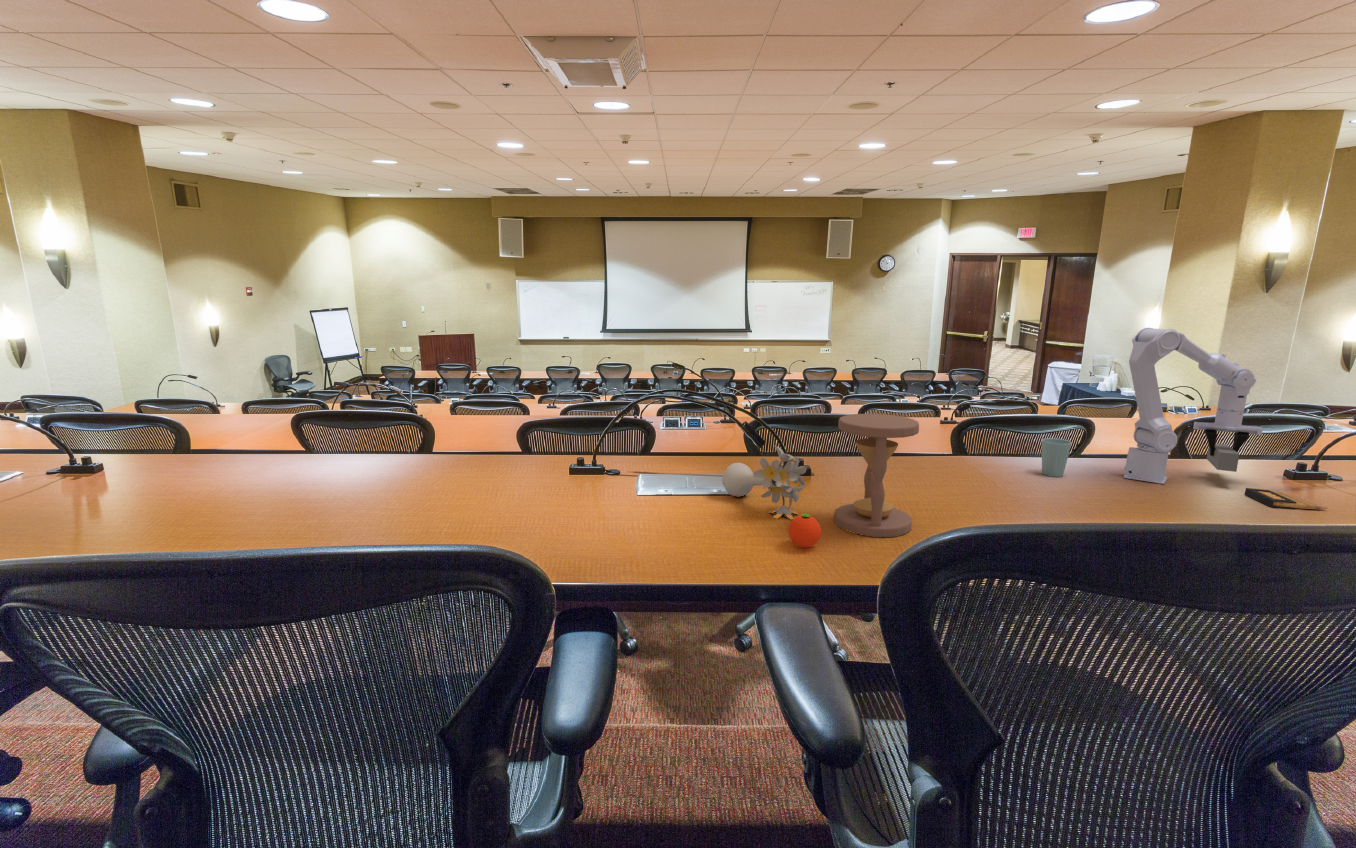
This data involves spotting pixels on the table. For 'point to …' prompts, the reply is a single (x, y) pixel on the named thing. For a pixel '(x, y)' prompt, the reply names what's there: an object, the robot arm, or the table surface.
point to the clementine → (804, 531)
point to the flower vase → (767, 479)
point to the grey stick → (1224, 458)
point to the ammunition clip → (1282, 499)
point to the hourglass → (875, 475)
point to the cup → (1054, 456)
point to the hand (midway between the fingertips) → (1222, 456)
